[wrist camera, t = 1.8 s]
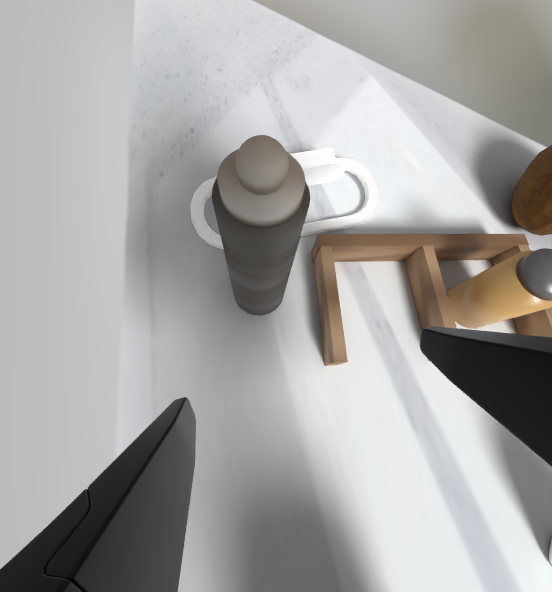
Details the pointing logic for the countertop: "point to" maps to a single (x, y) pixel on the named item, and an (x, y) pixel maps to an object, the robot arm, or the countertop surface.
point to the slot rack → (411, 276)
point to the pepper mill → (260, 220)
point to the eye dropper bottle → (550, 553)
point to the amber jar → (504, 290)
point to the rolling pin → (317, 171)
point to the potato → (535, 196)
